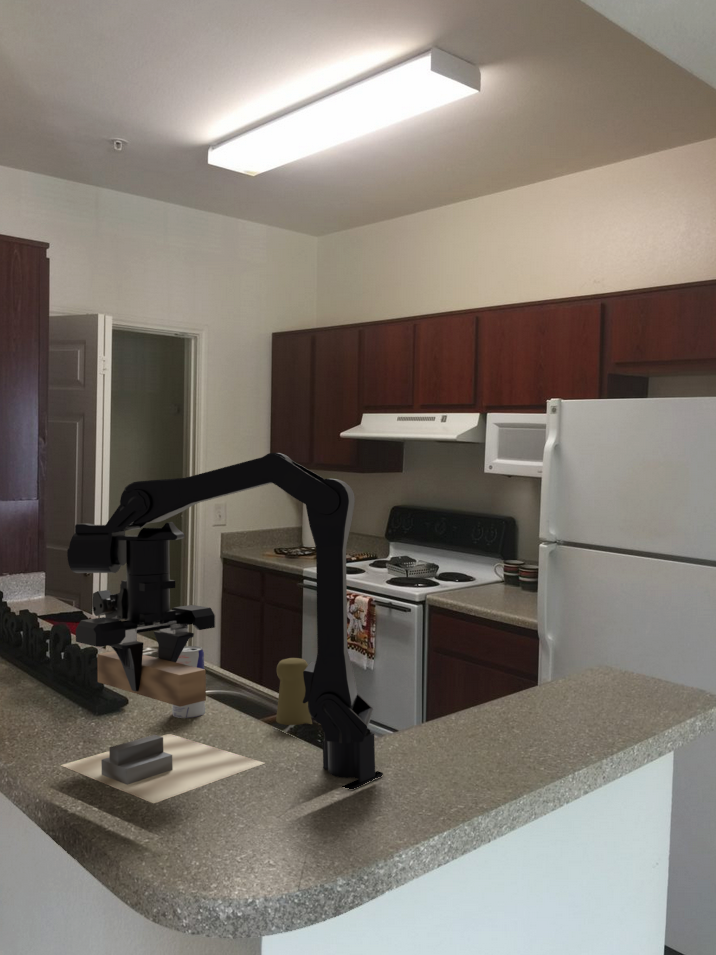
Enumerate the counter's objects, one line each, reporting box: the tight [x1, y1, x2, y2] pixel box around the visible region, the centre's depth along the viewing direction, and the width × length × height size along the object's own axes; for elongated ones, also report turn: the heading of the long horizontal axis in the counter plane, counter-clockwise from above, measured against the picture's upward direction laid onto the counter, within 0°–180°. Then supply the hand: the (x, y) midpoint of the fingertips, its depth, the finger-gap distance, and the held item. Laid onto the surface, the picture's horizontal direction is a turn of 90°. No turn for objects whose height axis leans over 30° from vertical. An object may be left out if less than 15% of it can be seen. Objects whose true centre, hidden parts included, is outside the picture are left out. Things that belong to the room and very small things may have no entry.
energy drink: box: [171, 645, 206, 719], centre depth 138 cm, size 5×5×12 cm
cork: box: [275, 657, 313, 726], centre depth 133 cm, size 6×6×11 cm
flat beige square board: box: [60, 733, 266, 804], centre depth 113 cm, size 22×18×5 cm
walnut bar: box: [96, 650, 207, 707], centre depth 112 cm, size 20×4×4 cm, turn 47°
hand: (149, 687), depth 112 cm, fingers closed on walnut bar, 4 cm apart
